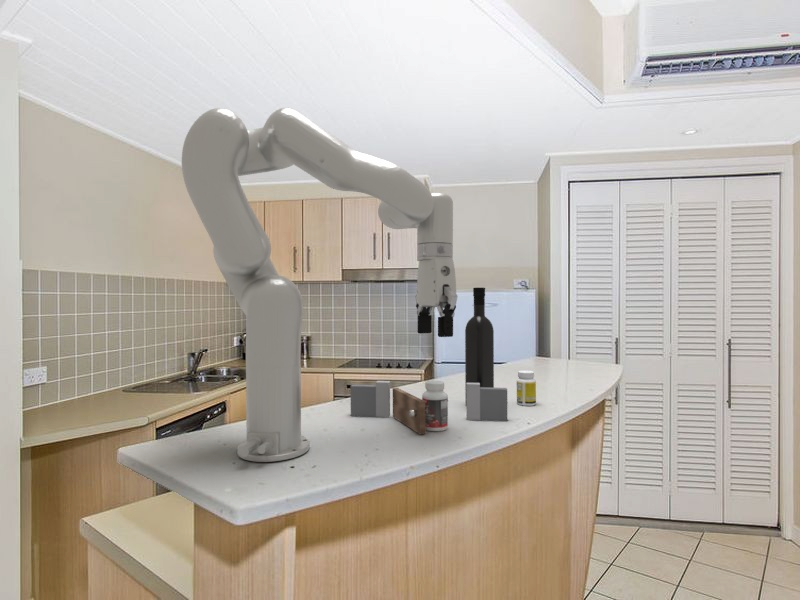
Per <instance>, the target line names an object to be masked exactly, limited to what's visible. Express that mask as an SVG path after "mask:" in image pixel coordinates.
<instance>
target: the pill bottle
mask: <svg viewBox="0 0 800 600" xmlns="http://www.w3.org/2000/svg"><path fill="white" fill-rule="evenodd" d="M424 384H425V385H424V388H425V390H426V391H424V392H422V395H421V396H422V397H421V398H422V399H421V400H424V401H425V431H428V432H442V431H446V430H447V429H448V425H449V424H448V423H449V419H448V418H449V416H448V415H449V412H448V410H449V409H448V408H449V406H448V405H449V403H448V402H449V397H448V393H447V392H446V391H444V390H445V382H444V381H442V380H438V379H437V380H435V379H434V380H426V381H425V383H424Z"/></svg>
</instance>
